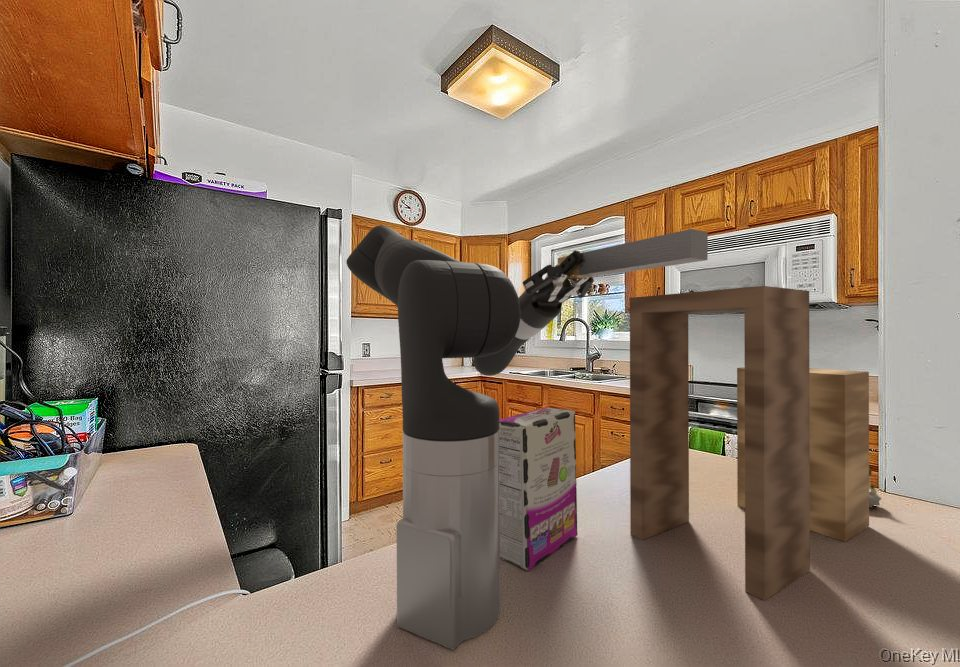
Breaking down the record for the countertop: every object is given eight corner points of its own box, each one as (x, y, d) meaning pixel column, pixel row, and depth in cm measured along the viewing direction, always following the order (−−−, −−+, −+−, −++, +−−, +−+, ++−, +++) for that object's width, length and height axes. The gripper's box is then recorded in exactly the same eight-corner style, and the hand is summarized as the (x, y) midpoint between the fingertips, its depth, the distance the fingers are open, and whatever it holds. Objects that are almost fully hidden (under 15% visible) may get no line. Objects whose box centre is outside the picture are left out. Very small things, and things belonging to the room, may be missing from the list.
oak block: (869, 526, 57) (868, 371, 57) (845, 542, 53) (844, 375, 53) (763, 495, 68) (763, 365, 68) (737, 505, 64) (737, 367, 64)
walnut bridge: (764, 600, 41) (763, 285, 41) (630, 534, 55) (629, 297, 55) (809, 570, 47) (809, 290, 46) (677, 516, 60) (676, 300, 60)
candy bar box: (546, 525, 58) (545, 406, 58) (578, 536, 54) (578, 410, 54) (493, 557, 50) (492, 418, 50) (527, 573, 46) (526, 424, 46)
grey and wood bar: (707, 260, 53) (707, 232, 53) (691, 257, 51) (691, 228, 51) (572, 279, 73) (572, 259, 73) (557, 278, 72) (557, 258, 72)
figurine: (859, 511, 61) (863, 470, 62) (830, 500, 66) (834, 462, 66) (891, 515, 62) (894, 474, 62) (860, 504, 66) (863, 465, 67)
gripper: (495, 294, 79) (547, 232, 66) (553, 297, 86) (610, 242, 73) (506, 329, 75) (564, 271, 63) (565, 329, 83) (627, 277, 70)
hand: (588, 256), depth 68 cm, fingers closed on grey and wood bar, 3 cm apart
